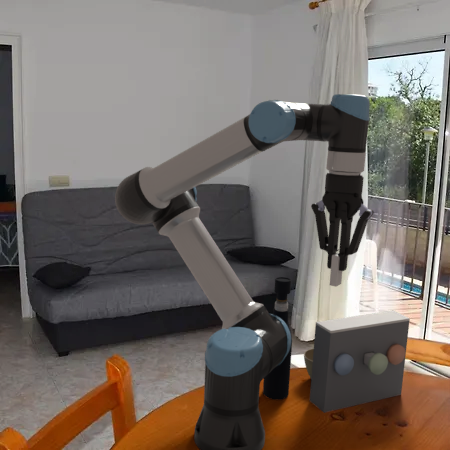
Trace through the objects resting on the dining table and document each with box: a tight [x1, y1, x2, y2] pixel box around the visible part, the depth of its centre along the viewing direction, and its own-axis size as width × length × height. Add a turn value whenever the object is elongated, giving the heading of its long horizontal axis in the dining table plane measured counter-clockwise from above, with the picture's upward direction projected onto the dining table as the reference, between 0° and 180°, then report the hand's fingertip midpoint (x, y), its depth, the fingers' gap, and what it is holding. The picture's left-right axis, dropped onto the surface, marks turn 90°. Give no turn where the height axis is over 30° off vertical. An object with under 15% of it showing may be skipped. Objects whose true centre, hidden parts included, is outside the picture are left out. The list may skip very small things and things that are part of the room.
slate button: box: [334, 353, 354, 375], centre depth 135 cm, size 4×5×5 cm
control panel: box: [309, 310, 410, 414], centre depth 140 cm, size 6×24×21 cm, turn 116°
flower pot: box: [303, 348, 314, 379], centre depth 150 cm, size 10×10×7 cm
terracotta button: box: [386, 344, 406, 365], centre depth 142 cm, size 4×5×5 cm
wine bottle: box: [262, 276, 293, 401], centre depth 140 cm, size 6×6×30 cm
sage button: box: [364, 352, 388, 375], centre depth 136 cm, size 4×5×5 cm
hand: (335, 284), depth 119 cm, fingers closed
